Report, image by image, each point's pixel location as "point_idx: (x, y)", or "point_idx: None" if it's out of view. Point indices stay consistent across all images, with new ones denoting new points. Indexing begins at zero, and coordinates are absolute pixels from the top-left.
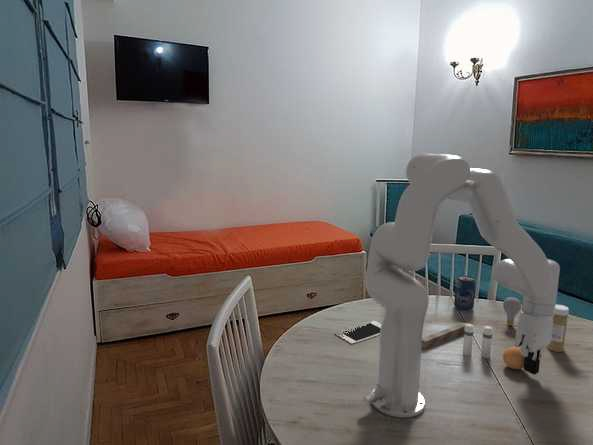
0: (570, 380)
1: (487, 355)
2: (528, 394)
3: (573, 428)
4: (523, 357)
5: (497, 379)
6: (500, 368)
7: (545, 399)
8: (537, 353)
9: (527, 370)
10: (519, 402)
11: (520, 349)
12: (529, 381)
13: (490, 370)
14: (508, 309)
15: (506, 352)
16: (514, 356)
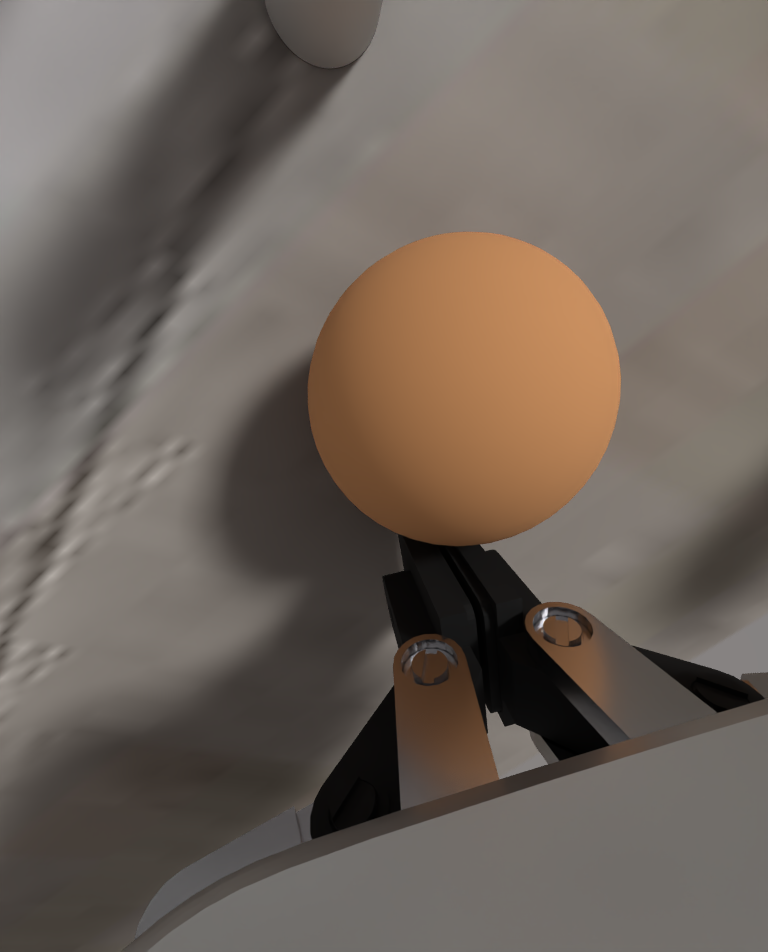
0: None
1: (297, 22)
2: (191, 702)
3: None
4: (460, 545)
5: (84, 481)
6: (280, 330)
7: (259, 757)
8: (571, 747)
9: (404, 559)
10: (39, 757)
11: (547, 486)
12: (348, 585)
13: (133, 315)
14: None
15: (347, 351)
16: (361, 496)
